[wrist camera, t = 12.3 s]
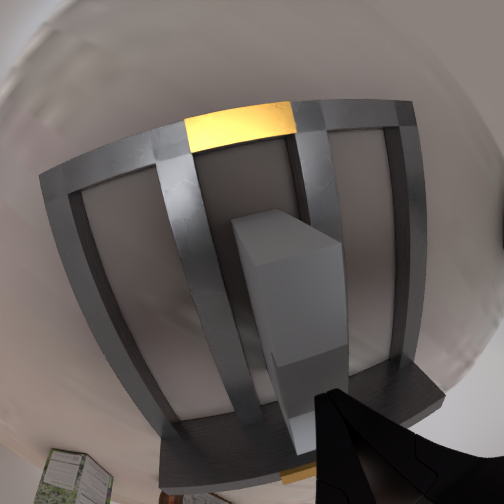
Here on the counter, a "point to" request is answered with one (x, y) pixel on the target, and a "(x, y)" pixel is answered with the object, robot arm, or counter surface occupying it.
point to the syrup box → (73, 480)
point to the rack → (213, 288)
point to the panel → (296, 312)
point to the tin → (191, 499)
